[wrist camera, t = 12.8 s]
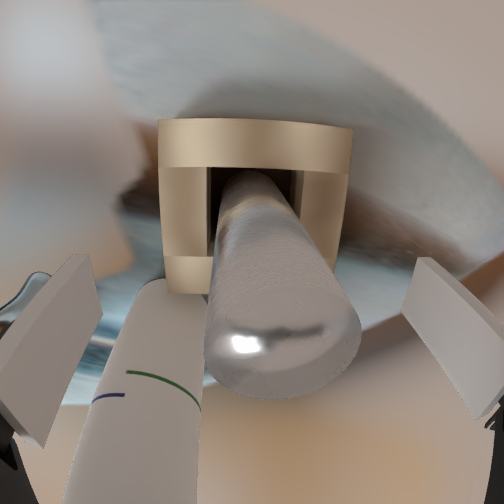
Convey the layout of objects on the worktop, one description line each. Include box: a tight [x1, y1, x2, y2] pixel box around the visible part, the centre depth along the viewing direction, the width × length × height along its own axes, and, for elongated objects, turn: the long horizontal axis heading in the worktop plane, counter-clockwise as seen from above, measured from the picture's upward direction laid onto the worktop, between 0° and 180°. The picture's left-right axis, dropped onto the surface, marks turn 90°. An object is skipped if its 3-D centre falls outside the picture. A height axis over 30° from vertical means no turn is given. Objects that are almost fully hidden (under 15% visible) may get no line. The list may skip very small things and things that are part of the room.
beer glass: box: [0, 272, 52, 332], centre depth 18 cm, size 7×7×15 cm
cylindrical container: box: [62, 279, 208, 504], centre depth 15 cm, size 7×7×25 cm
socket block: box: [158, 118, 354, 294], centre depth 20 cm, size 12×12×4 cm
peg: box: [203, 171, 362, 400], centre depth 15 cm, size 4×4×16 cm
